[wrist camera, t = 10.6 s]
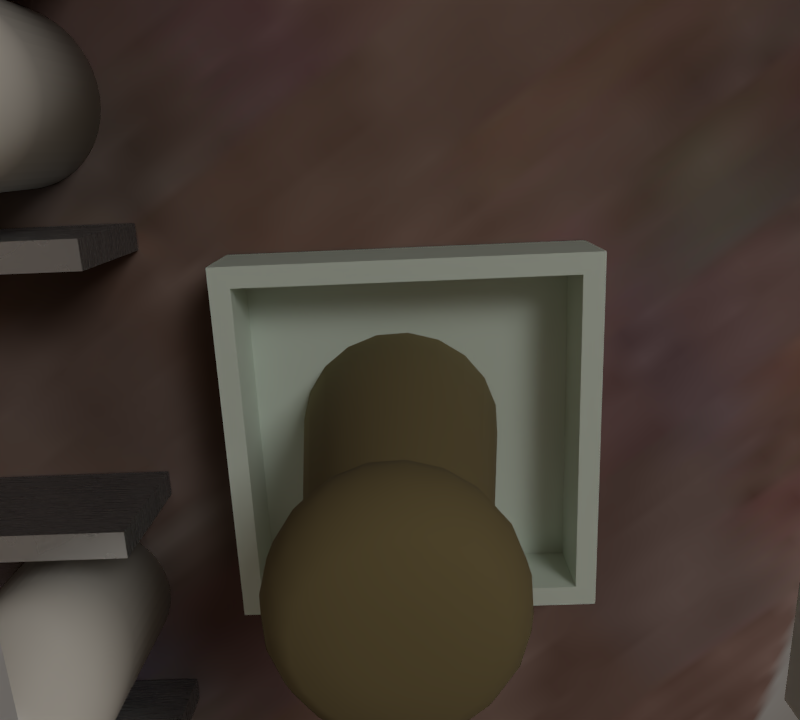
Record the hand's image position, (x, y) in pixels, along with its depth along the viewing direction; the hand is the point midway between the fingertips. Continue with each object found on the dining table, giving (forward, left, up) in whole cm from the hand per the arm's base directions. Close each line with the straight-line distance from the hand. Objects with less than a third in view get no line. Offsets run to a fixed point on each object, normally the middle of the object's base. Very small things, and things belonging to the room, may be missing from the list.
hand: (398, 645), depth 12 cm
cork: (+1, 0, -12) cm, 12 cm away
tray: (0, 0, -12) cm, 12 cm away
